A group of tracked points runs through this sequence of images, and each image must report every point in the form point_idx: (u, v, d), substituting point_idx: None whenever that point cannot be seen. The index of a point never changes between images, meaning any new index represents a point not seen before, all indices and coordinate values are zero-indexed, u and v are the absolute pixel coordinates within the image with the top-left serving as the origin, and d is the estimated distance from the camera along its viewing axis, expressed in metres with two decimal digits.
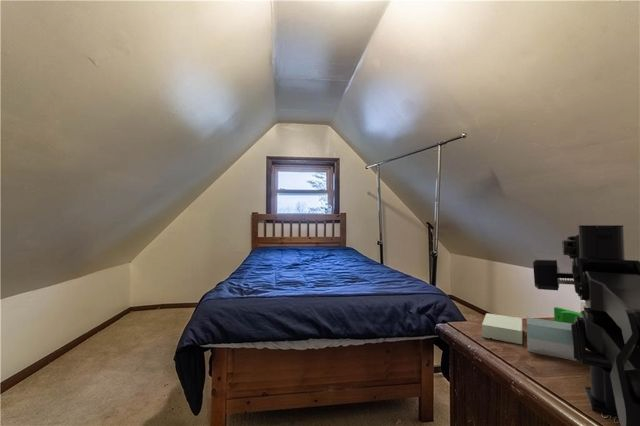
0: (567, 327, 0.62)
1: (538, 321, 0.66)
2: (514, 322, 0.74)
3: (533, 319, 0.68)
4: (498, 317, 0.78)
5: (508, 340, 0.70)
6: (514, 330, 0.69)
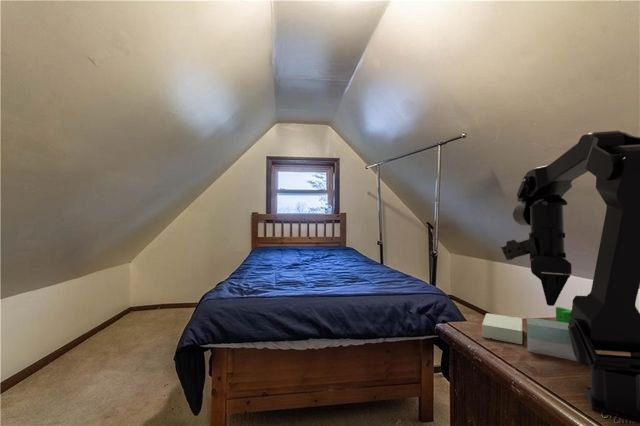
0: (567, 327, 0.62)
1: (538, 321, 0.66)
2: (514, 322, 0.74)
3: (533, 319, 0.68)
4: (498, 317, 0.78)
5: (508, 340, 0.70)
6: (514, 330, 0.69)
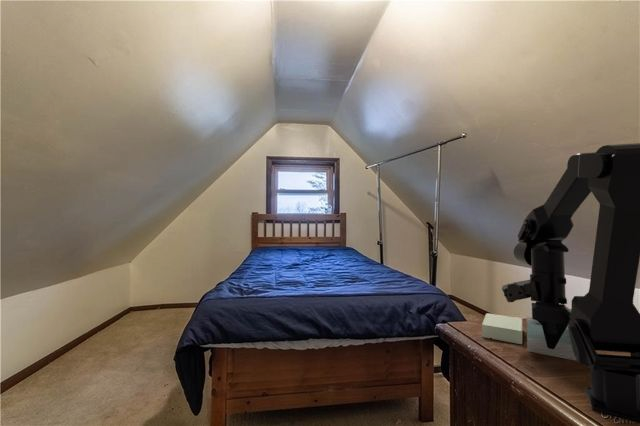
0: None
1: None
2: (514, 322, 0.74)
3: None
4: (498, 317, 0.78)
5: (508, 340, 0.70)
6: (514, 330, 0.69)
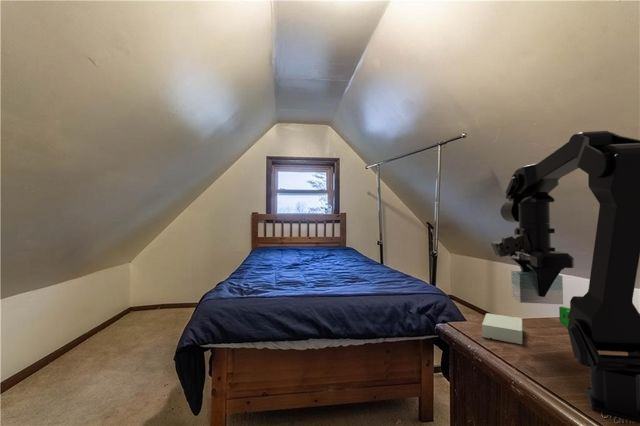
0: None
1: (525, 272, 0.68)
2: (514, 322, 0.74)
3: (519, 271, 0.70)
4: (498, 317, 0.78)
5: (508, 340, 0.70)
6: (514, 330, 0.69)
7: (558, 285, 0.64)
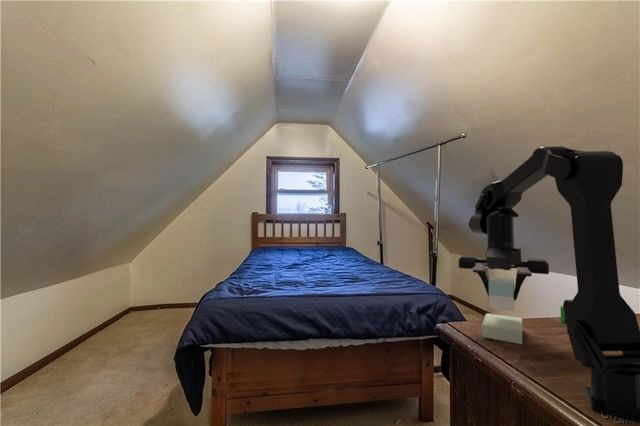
0: (507, 279, 0.77)
1: (499, 281, 0.73)
2: (514, 322, 0.74)
3: (493, 282, 0.73)
4: (498, 317, 0.78)
5: (508, 340, 0.70)
6: (514, 330, 0.69)
7: None
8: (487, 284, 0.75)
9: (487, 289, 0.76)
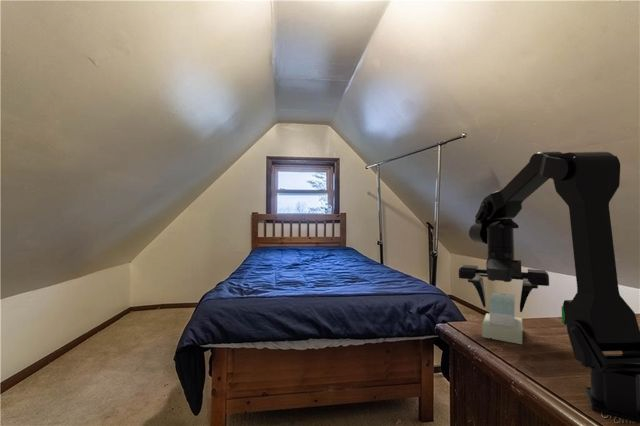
0: (507, 295, 0.76)
1: (500, 298, 0.73)
2: None
3: (494, 298, 0.73)
4: None
5: (508, 340, 0.70)
6: (514, 330, 0.69)
7: None
8: (482, 294, 0.76)
9: (482, 299, 0.76)
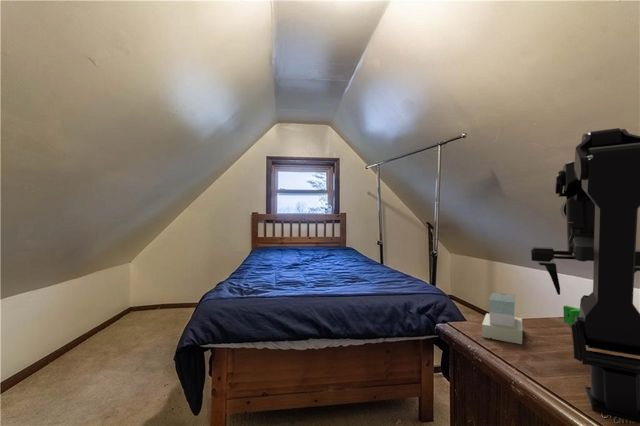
0: (507, 295, 0.76)
1: (500, 298, 0.73)
2: None
3: (494, 298, 0.73)
4: None
5: (508, 340, 0.70)
6: (514, 330, 0.69)
7: None
8: (556, 279, 0.65)
9: (556, 285, 0.65)
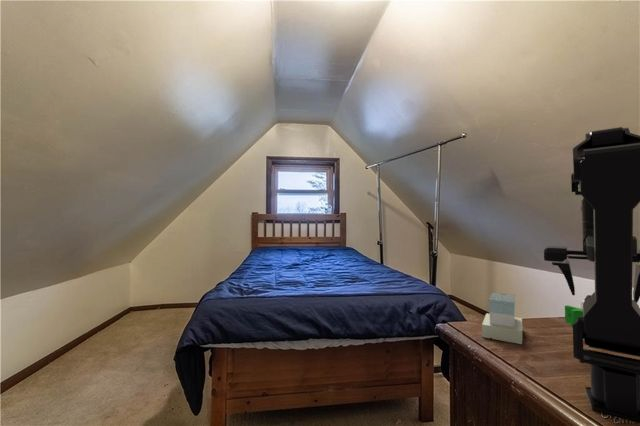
0: (507, 295, 0.76)
1: (500, 298, 0.73)
2: None
3: (494, 298, 0.73)
4: None
5: (508, 340, 0.70)
6: (514, 330, 0.69)
7: None
8: (571, 279, 0.64)
9: (570, 285, 0.64)
